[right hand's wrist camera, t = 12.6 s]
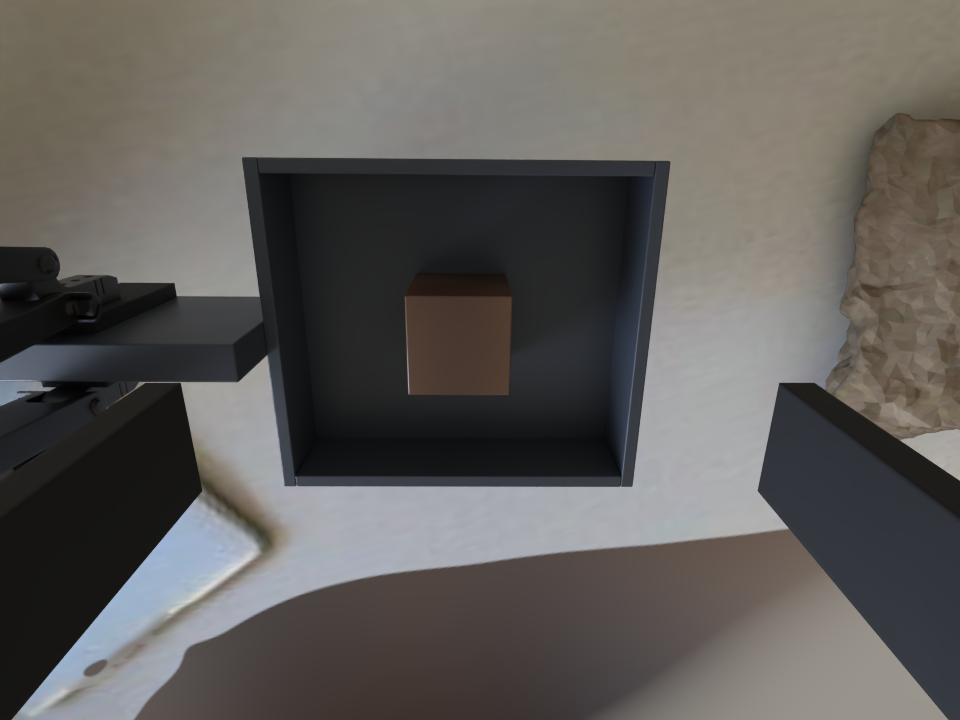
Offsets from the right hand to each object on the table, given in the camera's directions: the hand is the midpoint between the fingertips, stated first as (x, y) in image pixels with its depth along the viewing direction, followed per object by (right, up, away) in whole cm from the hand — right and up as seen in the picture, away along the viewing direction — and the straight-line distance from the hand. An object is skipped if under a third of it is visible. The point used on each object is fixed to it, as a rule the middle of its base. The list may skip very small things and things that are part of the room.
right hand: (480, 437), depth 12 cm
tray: (-6, +4, +17) cm, 18 cm away
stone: (+30, +7, +25) cm, 40 cm away
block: (-1, +4, +16) cm, 17 cm away
